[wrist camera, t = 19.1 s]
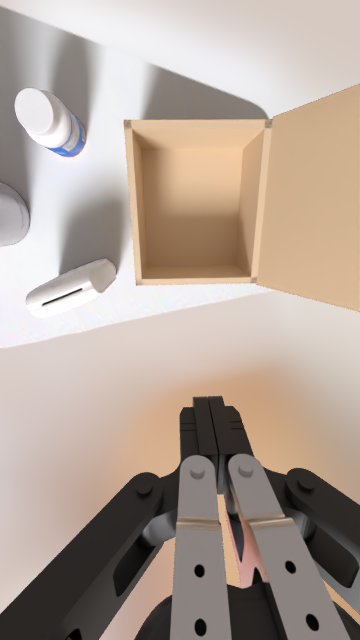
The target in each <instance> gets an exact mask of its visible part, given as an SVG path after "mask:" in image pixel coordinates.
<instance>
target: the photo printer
mask: <svg viewBox="0 0 360 640" xmlns="http://www.w3.org/2000/svg"><path fill="white" fill-rule="evenodd" d="M115 275H116V269H115V266H114V265H113V263H112V262H110V261H109V260H107V258H106V259H100V260H96V261H93V262H91V263H88V264H86V265H83V266H81V267H78V268H76V269H73V270H71V271H68V272H66V273H64V274H62V275H60V276H58V277H56V278H54V279H52V280H51V281H49V282H47V283H45V284H43V285H40V286H39V287H37V288H35V289H34V290H32V291H31V292H30V293H29V294H28V295H27V296H26V305H27V307H28V308H29V309H30V311H31V313H32V314H33V315H35V316H37V317H48V316H52V315H55V314H58V313H61V312H64V311H67V310H69V309H72V308H75V307H77V306H79V305H82V304H84V303H86V302H88V301H91V300H93V299H95V298H96V297H98V296H99V295H101V294H102V293H103V292H104V291H105V290H106V289H107V288H108V287H109V286H110V285H111V283H112V282H113V281H114V280H115V279H116V276H115Z"/></svg>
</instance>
